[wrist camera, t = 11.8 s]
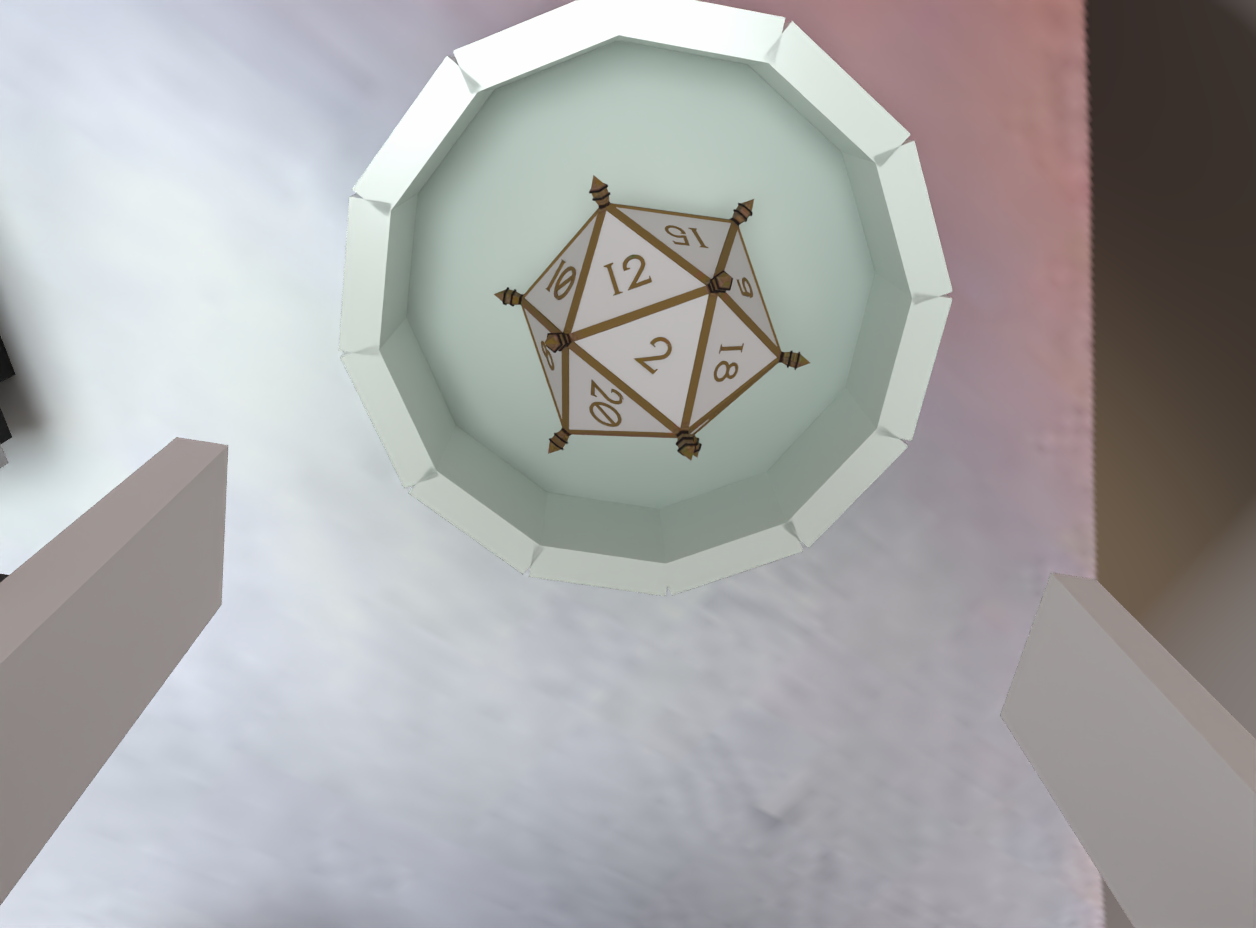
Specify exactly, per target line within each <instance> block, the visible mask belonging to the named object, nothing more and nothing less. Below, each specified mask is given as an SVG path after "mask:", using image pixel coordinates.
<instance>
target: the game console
mask: <svg viewBox="0 0 1256 928" xmlns="http://www.w3.org/2000/svg"><path fill="white" fill-rule="evenodd" d="M13 375H15V372H14V369H13V367H12V364H11V362H10V359H9V356H8V354H7V351H6V349H5V346H4V344H3V341H2V339H1V336H0V382H1V381H3V380H5V379H7V378H9V377H11V376H13ZM10 438H12V436H11V433H10V431H9V428H8V426H7V423H6V421H5V418H4V416H3V413H2V411H1V408H0V468H1V467H3V466H4V465H6V464H7V463H8V461H7V458H6V456H5V454H4V451H3V449H2V446H1V444H2V443H3V442H5V441H7V440H8V439H10Z"/></svg>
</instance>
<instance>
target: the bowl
mask: <svg viewBox="0 0 1256 928" xmlns="http://www.w3.org/2000/svg"><path fill="white" fill-rule="evenodd" d="M784 21H785V17H780V16H775V15H769V14H764V13H759V12H754V11H748V10H743V9H738V8H733V7H727V6H722V5H717V4H711V3H706V2H701V1H696V0H616V1H615V0H577V1H574V2H572V3H569V4H567V5H564V6H562V7H559V8H557V9H555V10H552V11H550V12H547V13H545V14H542V15H540V16H537V17H535V18H532V19H530V20H528V21H525V22H523V23H520V24H518V25H515V26H513V27H510V28H508V29H505V30H503V31H501V32H498V33H496V34H493V35H491V36H488V37H486V38H483V39H481V40H479V41H476V42H474V43H471V44H469V45H466V46H464V47H461V48H459V49H456V50H454V51H453V52H454V55H455V57H452V56H446V58H445V59H444V61H443V62H442V63H441V65H440V66H439V68H438V69H437V70H436V72H435V73H434V75H433V76H432V77H431V79H430V80H429V82H428V83H427V84H426V86H425V87H424V89H423V90H422V91H421V93H420V94H419V96H418V97H417V99H416V100H415V101H414V103H413V104H412V106H411V107H410V108H409V110H408V111H407V113H406V114H405V115H404V117H403V118H402V120H401V121H400V122H399V124H398V125H397V127H396V128H395V129H394V131H393V132H392V134H391V135H390V136H389V138H388V139H387V141H386V142H385V143H384V145H383V146H382V148H381V149H380V151H379V152H378V153H377V155H376V156H375V158H374V159H373V160H372V162H371V163H370V165H369V166H368V167H367V169H366V170H365V172H364V173H363V174H362V176H361V177H360V179H359V180H358V181H357V183H356V184H355V186H354V187H353V188H352V190H353V191H355V192H356V194H353V195H351V196H349V209H348V223H347V238H346V252H345V266H344V281H343V295H342V309H341V324H340V338H339V351H344V352H345V353H344V354H343V355H342V356H341V357H340V358H341V361H342V363H343V365H344V367H345V369H346V371H347V373H348V375H349V377H350V379H351V381H352V383H353V385H354V387H355V389H356V391H357V393H358V395H359V397H360V399H361V401H362V403H363V405H364V407H365V409H366V412H367V414H368V416H369V418H370V420H371V422H372V424H373V426H374V428H375V430H376V432H377V434H378V436H379V438H380V440H381V442H382V444H383V446H384V448H385V450H386V452H387V454H388V456H389V458H390V460H391V463H392V465H393V467H394V469H395V471H396V473H397V475H398V477H399V479H400V481H401V483H402V485H403V487H404V488H407V487H410V486H412V487H411V490H410V492H409V494H410V495H411V496H413V497H414V498H416V499H417V500H418V501H420V502H421V503H423V504H424V505H425V506H427V507H428V508H430V509H431V510H433V511H434V512H435V513H437V514H438V515H440V516H441V517H442V518H444V519H445V520H447V521H448V522H449V523H451V524H452V525H454V526H455V527H457V528H458V529H459V530H461V531H462V532H464V533H465V534H466V535H468V536H469V537H471V538H472V539H473V540H475V541H476V542H478V543H479V544H480V545H482V546H483V547H485V548H486V549H488V550H489V551H490V552H492V553H493V554H495V555H496V556H497V557H499V558H500V559H502V560H503V561H504V562H506V563H507V564H509V565H510V566H512V567H513V568H514V569H516V570H517V571H519V572H520V573H521V574H524V573H525V572H526V571H527V569H528V568H529V567H530V566H531V567H530V574H529V577H533V578H540V579H547V580H554V581H561V582H568V583H575V584H582V585H589V586H596V587H603V588H610V589H617V590H624V591H631V592H638V593H645V594H652V595H659V596H666V591H667V587H669V590H670V592H671V595H672V596H673V595H676V594H679V593H682V592H685V591H688V590H691V589H694V588H697V587H699V586H702V585H705V584H708V583H711V582H714V581H717V580H720V579H723V578H726V577H729V576H732V575H735V574H738V573H741V572H744V571H747V570H750V569H753V568H756V567H759V566H762V565H765V564H768V563H771V562H774V561H777V560H780V559H783V558H786V557H789V556H792V555H795V554H798V553H801V552H803V549H802V546H801V543H800V542H802V543H803V544H804V545H805V546H807V547H808V548H809V547H810V546H811V545H812V544H813V543H814V542H815V541H816V540H817V539H818V538H819V537H820V536H821V535H822V534H823V533H824V532H825V531H826V530H827V529H828V528H829V527H830V526H831V525H832V524H833V523H834V522H835V521H836V520H837V519H838V518H839V517H840V516H841V515H842V514H843V513H844V512H845V511H846V510H847V509H848V508H849V507H850V506H851V505H852V504H853V503H854V502H855V501H856V499H857V498H858V497H859V496H860V495H861V494H862V493H863V492H864V491H865V490H866V489H867V488H868V487H869V486H870V485H871V484H872V483H873V482H874V481H875V480H876V479H877V478H878V477H879V476H880V475H881V474H882V473H883V472H884V471H885V470H886V469H887V468H888V467H889V466H890V465H891V464H892V463H893V462H894V461H895V460H896V459H897V458H898V457H899V456H900V455H901V454H902V453H903V451H904V450H905V449H906V448H907V447H908V446H907V444H906V443H905V442H904V441H903V439H904V440H910V441H912V438H913V435H914V431H915V428H916V424H917V421H918V417H919V414H920V410H921V407H922V403H923V400H924V396H925V393H926V389H927V386H928V382H929V379H930V375H931V372H932V368H933V365H934V361H935V358H936V354H937V351H938V348H939V344H940V341H941V337H942V334H943V330H944V327H945V323H946V320H947V316H948V313H949V309H950V306H951V302H952V298H951V297H949V296H948V295H946V294H947V293H950V292H953V291H952V287H951V283H950V279H949V275H948V271H947V267H946V263H945V259H944V255H943V251H942V247H941V243H940V239H939V235H938V232H937V228H936V224H935V220H934V216H933V212H932V208H931V204H930V200H929V196H928V192H927V188H926V184H925V180H924V176H923V173H922V169H921V165H920V161H919V157H918V153H917V149H916V145H915V141H913V140H909V139H907V138H908V137H909V136H910V133H909V132H908V131H907V130H906V129H905V128H904V127H903V126H902V125H900V124H899V123H898V122H897V121H896V120H895V119H894V118H893V117H892V116H891V115H890V114H889V113H888V112H887V111H886V110H885V109H884V108H883V107H882V106H881V105H880V104H879V103H877V102H876V101H875V100H874V99H873V98H872V97H871V96H870V95H869V94H868V93H867V92H866V91H865V90H864V89H863V88H862V87H861V86H860V85H859V84H858V83H857V82H855V81H854V80H853V79H852V78H851V77H850V76H849V75H848V74H847V73H846V72H845V71H844V70H843V69H842V68H841V67H840V66H839V65H838V64H837V63H836V62H835V61H833V60H832V59H831V58H830V57H829V56H828V55H827V54H826V53H825V52H824V51H823V50H822V49H821V48H820V47H819V46H818V45H817V44H816V43H815V42H814V41H813V40H812V39H810V38H809V37H808V36H807V35H806V34H805V33H804V32H803V31H802V30H801V29H800V28H799V27H798V26H797V25H796V24H795V23H794V22H793V21H791V22H787V23H784ZM593 175H594V176H596V177H597V178H598V179H599V180H600V181H602V182H603V183H605V184H607V185H608V187H607V190H608V192H610V194H611V195H609V202H610V203H614V204H621V205H629V206H636V207H643V208H651V209H658V210H665V211H672V212H680V213H687V214H694V215H702V216H709V217H716V218H724V219H730V218H732V216H733V213H734V211H733V210H734V209H735V210H736V208H737V207H738V206H739V205H738V203H744V202H747V201H749V200H752V199H754V203H753V208H752V212H753V214H752V216H749V217H748V218H747V222H745V221H744V222H743V223H742V224H740V225H739V228H740V231H741V234H742V237H743V240H744V243H745V246H746V249H747V252H748V255H749V258H750V261H751V264H752V267H753V269H754V272H755V275H756V278H757V281H758V284H759V287H760V290H761V293H762V296H763V299H764V302H765V305H766V308H767V311H768V313H769V316H770V319H771V322H772V325H773V328H774V331H775V334H776V337H777V340H778V343H779V346H780V349H781V351H782V352H790V351H793V352H795V353H798V352H800V354H801V355H802V356H803V357H804V358H806V359H807V360H808V361H809V362H810V363H809V364H807V365H804V366H801V367H799V368H796V370H794V368H793V367H789V368H787V365H785V364H783V363H778V364H777V365H775V366H774V367H773V368H772V369H771V370H770V371H768V372H767V373H766V374H765V375H764V376H763V377H761V378H760V379H759V380H758V381H757V382H756V383H754V384H753V385H752V386H751V387H750V388H749V389H747V390H746V391H745V392H744V393H743V394H742V395H740V396H739V397H738V398H737V399H736V400H735V401H733V402H732V403H731V404H730V405H729V406H728V407H727V408H725V409H724V410H723V411H722V412H721V413H720V414H718V415H717V416H716V417H715V418H714V419H713V420H711V421H710V422H709V423H708V424H707V425H706V426H704V427H703V428H702V429H701V430H700V431H699V432H697V433H696V434H695V436H696V437H697V438H699V443H701V444H702V446H701V450H700V451H699V453H698V458H697V457H695V456H694V455H693V456H692V460H691V461H690V460H689V459H688V458H687V457H686V456H683V455H681V454H680V453H679V452H677V450H678V446H677V445H676V442H677V439H678V438H655V437H627V436H599V435H570V436H569V438H568V441H567V442H568V444H565V446H564V447H563V449H564V450H558V451H555V452H552V453H549V454H548V450H549V443H550V440H549V438H552V437H553V436H554V433H557V432H559V431H560V430H561V429H562V425H561V422H560V419H559V416H558V413H557V410H556V407H555V404H554V401H553V399H552V396H551V393H550V390H549V387H548V384H547V381H546V378H545V375H544V372H543V369H542V366H541V363H540V360H539V357H538V354H537V351H536V348H535V345H534V342H533V339H532V336H531V333H530V330H529V328H528V325H527V322H526V319H525V316H524V313H523V310H522V307H521V305H514V307H513V306H511V305H510V304H507V305H504V304H502V303H503V302H502V301H501V300H500V299H499V298H497V297H496V296H495V295H494V294H495V293H498V292H500V291H503V290H506V289H507V287H509V289H510V290H513V291H514V289H516V292H518V293H520V294H525V293H526V292H527V290H528V289H529V288H530V287H531V286H532V285H533V283H534V282H535V281H536V280H537V279H538V278H539V276H540V275H541V274H542V273H543V272H544V271H545V269H546V268H547V267H548V266H549V265H550V264H551V262H552V261H553V260H554V259H555V258H556V257H557V255H558V254H559V253H560V252H561V251H562V250H563V248H564V247H565V246H566V245H567V244H568V243H569V241H570V240H571V239H572V238H573V237H574V236H575V235H576V233H577V232H578V231H579V230H580V229H581V228H582V226H583V225H584V224H585V223H586V222H587V221H588V219H589V218H590V217H591V216H592V215H593V214H594V212H595V211H596V210H597V209H598V208H599V206H598V204H597V203H596V202H595V201H593V200H592V199H593V196H592V194H591V193H590V194H589V191H590V189H591V185H592V180H593Z"/></svg>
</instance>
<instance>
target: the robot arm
mask: <svg viewBox="0 0 1256 928" xmlns="http://www.w3.org/2000/svg"><path fill="white" fill-rule="evenodd" d="M227 462H228V445H223V444H217V443H210V442H204V441H197V440H191V439H184V438H178V437H176V438H175V439H174V440H173V441H171V442H170V443H169V444H168V445H167V446H165V447H164V448H163V449H162V450H161V451H159V452H158V453H157V454H156V455H154V456H153V457H152V458H151V459H150V460H148V461H147V462H146V463H145V464H144V465H142V466H141V467H140V468H139V469H137V470H136V471H135V472H134V473H133V474H131V475H130V476H129V477H128V478H127V479H125V480H124V481H123V482H122V483H120V484H119V485H118V486H117V487H116V488H114V489H113V490H112V491H111V492H110V493H108V494H107V495H106V496H105V497H104V498H102V499H101V500H100V501H99V502H97V503H96V504H95V505H94V506H93V507H91V508H90V509H89V510H88V511H87V512H85V513H84V514H83V515H82V516H80V517H79V518H78V519H77V520H76V521H74V522H73V523H72V524H71V525H70V526H68V527H67V528H66V529H65V530H63V531H62V532H61V533H60V534H59V535H57V536H56V537H55V538H54V539H53V540H51V541H50V542H49V543H48V544H46V545H45V546H44V547H43V548H42V549H40V550H39V551H38V552H37V553H36V554H34V555H33V556H32V557H31V558H29V559H28V560H27V561H26V562H25V563H23V564H22V565H21V566H20V567H19V568H17V569H16V570H15V571H14V572H13V573H11V574H10V575H5V574H0V905H1V904H2V903H3V901H4V900H5V898H6V897H7V896H8V894H9V893H10V892H11V890H12V889H13V888H14V886H15V885H16V884H17V882H18V881H19V879H20V878H21V877H22V875H23V874H24V873H25V871H26V870H27V869H28V867H29V866H30V864H31V863H32V862H33V860H34V859H35V858H36V856H37V855H38V854H39V852H40V851H41V850H42V848H43V847H44V845H45V844H46V843H47V841H48V840H49V839H50V837H51V836H52V835H53V833H54V832H55V830H56V829H57V828H58V826H59V825H60V824H61V822H62V821H63V820H64V818H65V817H66V816H67V814H68V813H69V811H70V810H71V809H72V807H73V806H74V805H75V803H76V802H77V801H78V799H79V798H80V796H81V795H82V794H83V792H84V791H85V790H86V788H87V787H88V786H89V784H90V783H91V781H92V780H93V779H94V777H95V776H96V775H97V773H98V772H99V771H100V769H101V768H102V767H103V765H104V764H105V762H106V761H107V760H108V758H109V757H110V756H111V754H112V753H113V752H114V750H115V749H116V747H117V746H118V745H119V743H120V742H121V741H122V739H123V738H124V737H125V735H126V734H127V733H128V731H129V730H130V728H131V727H132V726H133V724H134V723H135V722H136V720H137V719H138V718H139V716H140V715H141V713H142V712H143V711H144V709H145V708H146V707H147V705H148V704H149V703H150V701H151V700H152V699H153V697H154V696H155V694H156V693H157V692H158V690H159V689H160V688H161V686H162V685H163V684H164V682H165V681H166V679H167V678H168V677H169V675H170V674H171V673H172V671H173V670H174V669H175V667H176V666H177V665H178V663H179V662H180V660H181V659H182V658H183V656H184V655H185V654H186V652H187V651H188V650H189V648H190V647H191V645H192V644H193V643H194V641H195V640H196V639H197V637H198V636H199V635H200V633H201V632H202V631H203V629H204V628H205V626H206V625H207V624H208V622H209V621H210V620H211V618H212V617H213V616H214V614H215V613H216V611H217V610H218V609H219V607H220V606H221V603H222V580H223V556H224V533H225V509H226V486H227ZM1000 716H1001V717H1002V719H1003V721H1004V722H1005V724H1006V725H1007V727H1008V729H1009V730H1010V732H1011V733H1012V735H1013V736H1014V738H1015V740H1016V741H1017V743H1018V744H1019V746H1020V748H1021V749H1022V751H1023V752H1024V754H1025V755H1026V757H1027V759H1028V760H1029V762H1030V763H1031V765H1032V767H1033V768H1034V770H1035V771H1036V773H1037V774H1038V776H1039V778H1040V779H1041V781H1042V782H1043V784H1044V786H1045V787H1046V789H1047V790H1048V792H1049V793H1050V795H1051V797H1052V798H1053V800H1054V801H1055V803H1056V805H1057V806H1058V808H1059V809H1060V811H1061V812H1062V814H1063V816H1064V817H1065V819H1066V820H1067V822H1068V824H1069V825H1070V827H1071V828H1072V830H1073V831H1074V833H1075V835H1076V836H1077V838H1078V839H1079V841H1080V843H1081V844H1082V846H1083V847H1084V849H1085V850H1086V852H1087V854H1088V855H1089V857H1090V858H1091V860H1092V862H1093V863H1094V865H1095V866H1096V868H1097V869H1098V871H1099V873H1100V874H1101V876H1102V877H1103V879H1104V880H1105V882H1106V884H1107V885H1108V887H1109V888H1110V890H1111V892H1112V893H1113V895H1114V896H1115V898H1116V899H1117V901H1118V903H1119V904H1120V906H1121V907H1122V909H1123V911H1124V912H1125V914H1126V915H1127V917H1128V919H1129V920H1130V921H1131V923H1132V925H1133V926H1134V928H1256V739H1255V738H1254V737H1253V736H1252V735H1251V734H1250V733H1249V732H1248V731H1246V729H1244V727H1243V726H1242V725H1241V724H1240V723H1239V722H1238V721H1237V720H1236V719H1235V718H1234V717H1233V716H1232V715H1231V714H1230V713H1228V711H1227V710H1226V709H1224V707H1223V706H1222V705H1221V704H1220V703H1219V702H1218V701H1217V700H1216V699H1215V698H1214V697H1213V696H1212V695H1211V694H1210V693H1209V692H1208V691H1207V690H1206V689H1205V688H1204V687H1203V686H1202V685H1201V684H1200V683H1199V682H1198V681H1196V679H1195V678H1194V677H1193V676H1192V675H1191V674H1190V673H1189V672H1188V671H1187V670H1186V669H1185V668H1184V667H1183V666H1182V665H1181V664H1180V663H1179V662H1178V661H1176V659H1175V658H1174V657H1173V656H1172V655H1171V654H1170V653H1169V652H1168V651H1167V650H1166V649H1165V648H1164V647H1163V646H1162V645H1161V644H1160V643H1159V642H1158V641H1157V640H1156V639H1155V638H1154V637H1153V636H1152V635H1151V634H1150V633H1149V632H1148V631H1147V630H1146V629H1144V627H1143V626H1142V625H1141V624H1140V623H1139V622H1138V621H1137V620H1136V619H1135V618H1134V617H1133V616H1132V615H1131V614H1130V613H1129V612H1128V611H1127V610H1126V609H1125V608H1124V607H1123V606H1122V605H1121V604H1120V603H1119V602H1118V601H1117V600H1116V599H1115V598H1114V597H1113V596H1112V595H1111V594H1110V593H1109V592H1108V591H1107V590H1106V589H1105V588H1104V587H1103V586H1102V585H1101V584H1100V583H1099V582H1098V581H1097V580H1096V579H1090V578H1083V577H1077V576H1070V575H1064V574H1057V573H1051V574H1050V577H1049V580H1048V583H1047V586H1046V588H1045V591H1044V594H1043V597H1042V599H1041V602H1040V605H1039V608H1038V611H1037V613H1036V616H1035V619H1034V622H1033V625H1032V627H1031V630H1030V633H1029V636H1028V638H1027V641H1026V644H1025V647H1024V650H1023V652H1022V655H1021V658H1020V661H1019V663H1018V666H1017V669H1016V672H1015V675H1014V677H1013V680H1012V683H1011V686H1010V689H1009V691H1008V694H1007V697H1006V700H1005V702H1004V705H1003V708H1002V711H1001V714H1000Z"/></svg>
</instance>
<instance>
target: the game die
mask: <svg viewBox="0 0 1256 928" xmlns="http://www.w3.org/2000/svg"><path fill="white" fill-rule="evenodd" d="M607 187H608V185H607V184H605V183H603V182H602V181H600V180H599V179H598V178H597V177H596V176H594V175H593V180H592V185H591V189H590V191H589V194H590V193H591V194H592V196H593V199H592V200H593V201H595V202H596V203H597V204H598V206H599V208H598V209H597V210H596V211H595V212H594V214H593V215H592V216H591V217H590V218H589V219H588V221H587V222H586V223H585V224H584V225H583V226H582V228H581V229H580V230H579V231H578V232H577V233H576V235H575V236H574V237H573V238H572V239H571V240H570V241H569V243H568V244H567V245H566V246H565V247H564V248H563V250H562V251H561V252H560V253H559V254H558V255H557V257H556V258H555V259H554V260H553V261H552V262H551V264H550V265H549V266H548V267H547V268H546V269H545V271H544V272H543V273H542V274H541V275H540V276H539V278H538V279H537V280H536V281H535V282H534V283H533V285H532V286H531V287H530V288H529V289H528V290H527V292H526V293H525V294H520V293H518V292H516V289H514V291H513V290H510V289H509V287H507V289H506V290H503V291H500V292H498V293H495V294H494V295H495V296H496V297H497V298H499V299H500V300H501V301H502V302H503V303H502V304H504V305H507V304H510V305H511V306H513V307H514V305H521V307H522V310H523V313H524V316H525V319H526V322H527V325H528V328H529V330H530V333H531V336H532V339H533V342H534V345H535V348H536V351H537V354H538V357H539V360H540V363H541V366H542V369H543V372H544V375H545V378H546V381H547V384H548V387H549V390H550V393H551V396H552V399H553V401H554V404H555V407H556V410H557V413H558V416H559V419H560V422H561V425H562V429H561V430H560V431H559V432H557V433H554V436H553V437H552V438H549V440H550V443H549V450H548V454H549V453H552V452H555V451H558V450H564V449H563V447H564V446H565V444H568V442H567V441H568V438H569V436H570V435H599V436H627V437H655V438H678V439H677V442H676V445H677V446H678V450H677V452H679V453H680V454H681V455H683V456H686V457H687V458H688V459H689V460H690V461H691V460H692V456H693V455H694V456H695V457H697V458H698V453H699V451H700V450H701V446H702V444H701V443H699V438H697V437H696V436H695V434H696V433H697V432H699V431H700V430H701V429H702V428H703V427H704V426H706V425H707V424H708V423H709V422H710V421H711V420H713V419H714V418H715V417H716V416H717V415H718V414H720V413H721V412H722V411H723V410H724V409H725V408H727V407H728V406H729V405H730V404H731V403H732V402H733V401H735V400H736V399H737V398H738V397H739V396H740V395H742V394H743V393H744V392H745V391H746V390H747V389H749V388H750V387H751V386H752V385H753V384H754V383H756V382H757V381H758V380H759V379H760V378H761V377H763V376H764V375H765V374H766V373H767V372H768V371H770V370H771V369H772V368H773V367H774V366H775V365H777V364H778V363H783V364H785V365H787V368H789V367H793V368H794V370H796V368H799V367H801V366H804V365H807V364H809V363H810V362H809V361H808V360H807V359H806V358H804V357H803V356H802V355H801V354H800V352H798V353H795V352H793V351H790V352H782V351H781V349H780V346H779V343H778V340H777V337H776V334H775V331H774V328H773V325H772V322H771V319H770V316H769V313H768V311H767V308H766V305H765V302H764V299H763V296H762V293H761V290H760V287H759V284H758V281H757V278H756V275H755V272H754V269H753V267H752V264H751V261H750V258H749V255H748V252H747V249H746V246H745V243H744V240H743V237H742V234H741V231H740V228H739V225H740V224H742V223H743V222H744V221H745V222H747V218H748V217H749V216H752V214H753V212H752V208H753V203H754V199H752V200H749V201H747V202H744V203H738V205H739V206H738V207H737V208H736V210H735V209H734V210H733V211H734V213H733V216H732V218H730V219H724V218H716V217H709V216H702V215H694V214H687V213H680V212H672V211H665V210H658V209H651V208H643V207H636V206H629V205H621V204H614V203H610V202H609V195H611V194H610V192H608V190H607Z"/></svg>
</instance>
